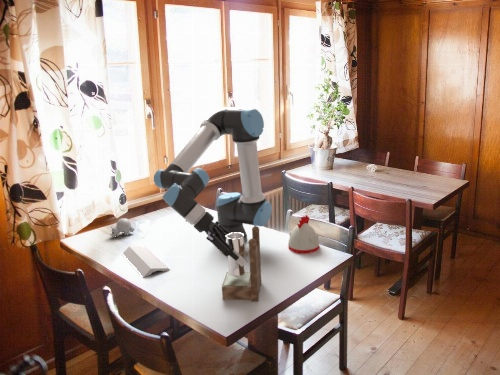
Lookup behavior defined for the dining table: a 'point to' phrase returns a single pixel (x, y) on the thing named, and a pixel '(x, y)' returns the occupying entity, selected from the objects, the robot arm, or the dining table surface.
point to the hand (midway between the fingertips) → (245, 259)
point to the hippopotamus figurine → (122, 227)
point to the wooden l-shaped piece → (246, 275)
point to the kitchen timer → (303, 238)
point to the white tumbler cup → (238, 245)
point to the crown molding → (144, 260)
